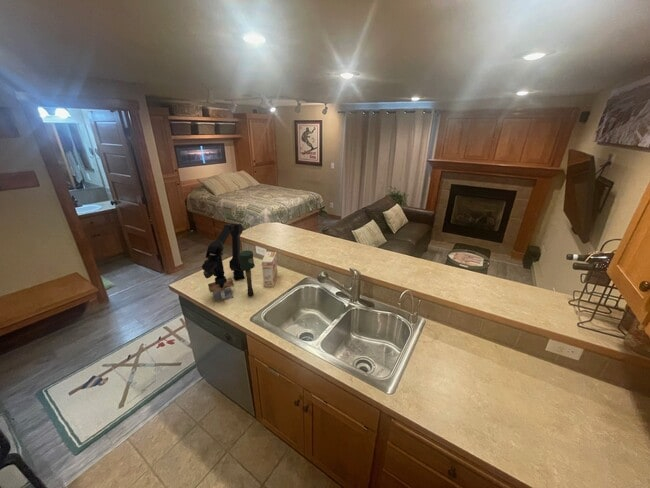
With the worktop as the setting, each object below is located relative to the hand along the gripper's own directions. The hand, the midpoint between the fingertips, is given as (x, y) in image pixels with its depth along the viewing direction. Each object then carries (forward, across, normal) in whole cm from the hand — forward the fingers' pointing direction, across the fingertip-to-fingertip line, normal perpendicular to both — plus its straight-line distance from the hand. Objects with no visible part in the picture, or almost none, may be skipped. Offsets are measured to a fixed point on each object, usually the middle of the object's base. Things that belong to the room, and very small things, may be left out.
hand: (221, 286), depth 163 cm
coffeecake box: (+7, -3, +32) cm, 33 cm away
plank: (+1, 0, 0) cm, 1 cm away
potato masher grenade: (+7, +8, +16) cm, 19 cm away
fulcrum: (+6, 0, 0) cm, 7 cm away
